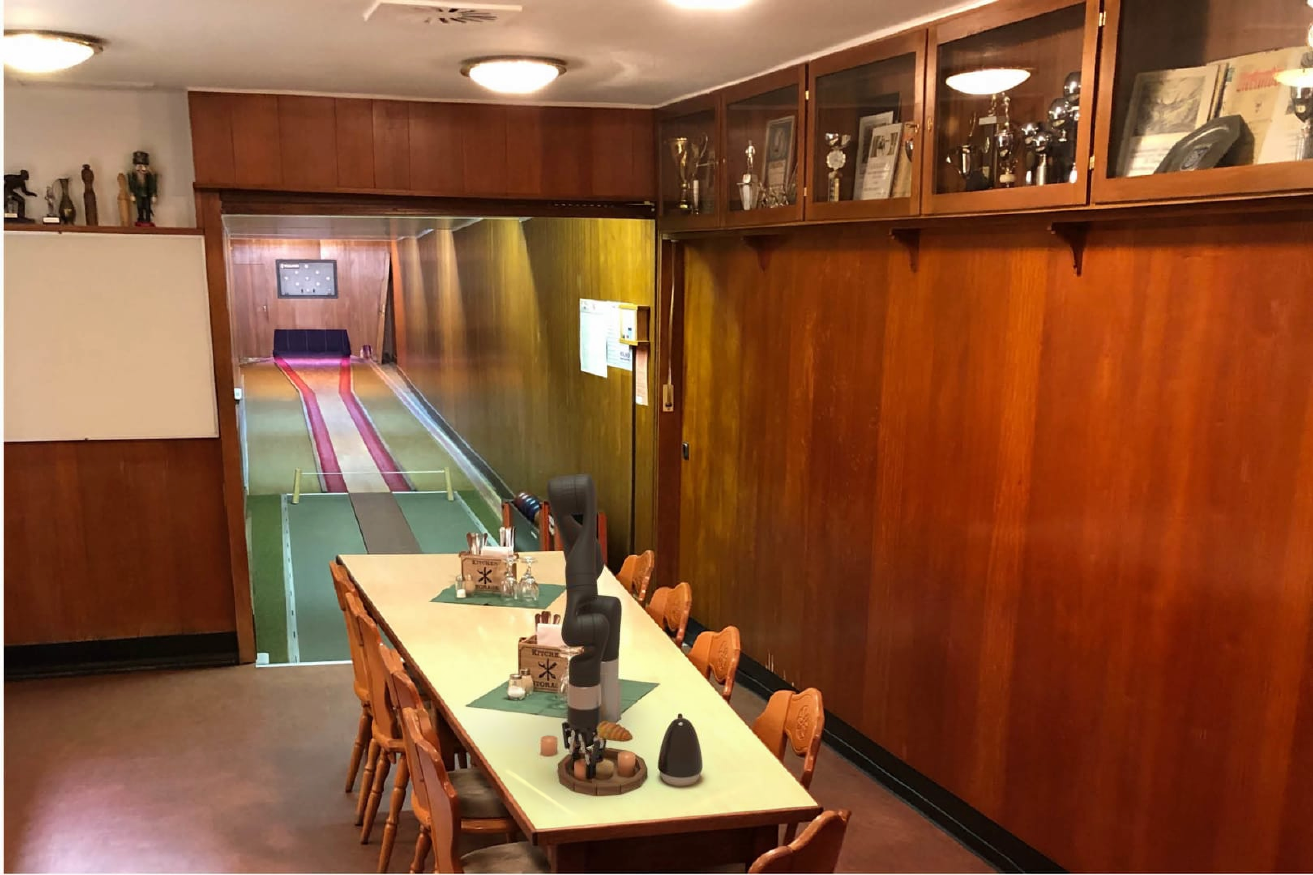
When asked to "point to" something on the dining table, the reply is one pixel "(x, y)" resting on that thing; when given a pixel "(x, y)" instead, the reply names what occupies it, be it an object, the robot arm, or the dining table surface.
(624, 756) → the bead
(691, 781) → the black tapered dome
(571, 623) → the robot arm
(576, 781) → the tray
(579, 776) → the bead
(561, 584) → the dining table surface
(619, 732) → the pastry
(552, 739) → the bead
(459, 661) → the dining table surface
